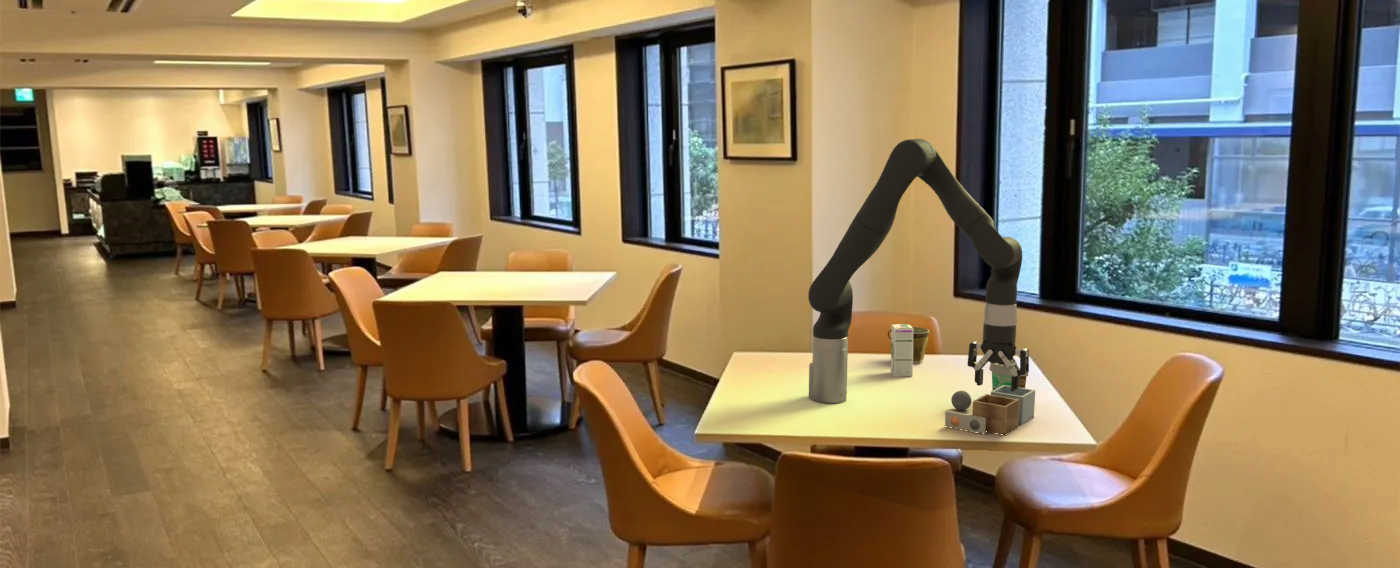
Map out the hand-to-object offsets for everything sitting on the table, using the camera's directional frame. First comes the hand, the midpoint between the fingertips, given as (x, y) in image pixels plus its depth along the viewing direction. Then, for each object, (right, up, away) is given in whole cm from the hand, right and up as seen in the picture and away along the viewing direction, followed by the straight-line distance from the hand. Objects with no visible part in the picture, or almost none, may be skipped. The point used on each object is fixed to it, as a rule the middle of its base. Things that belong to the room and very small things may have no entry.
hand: (996, 387), depth 243 cm
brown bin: (0, -10, +2) cm, 10 cm away
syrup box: (-12, -2, +54) cm, 55 cm away
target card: (-8, -10, 0) cm, 13 cm away
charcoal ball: (-4, -7, +17) cm, 19 cm away
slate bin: (+7, -9, +10) cm, 15 cm away
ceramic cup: (-7, +1, +70) cm, 70 cm away
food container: (+9, -6, +26) cm, 28 cm away
